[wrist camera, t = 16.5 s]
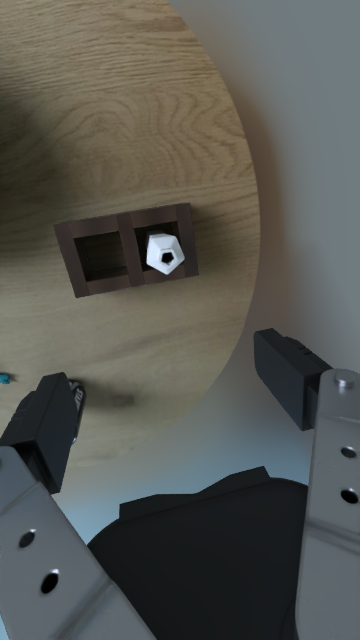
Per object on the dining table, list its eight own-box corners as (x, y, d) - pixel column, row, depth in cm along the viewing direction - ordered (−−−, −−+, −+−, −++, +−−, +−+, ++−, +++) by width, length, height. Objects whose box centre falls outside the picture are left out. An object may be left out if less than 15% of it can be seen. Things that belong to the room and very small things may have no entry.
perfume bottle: (176, 235, 45) (196, 249, 31) (162, 259, 46) (176, 284, 32) (150, 220, 43) (160, 228, 29) (137, 245, 44) (140, 264, 31)
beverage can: (82, 409, 54) (70, 461, 43) (45, 403, 52) (22, 456, 41) (91, 380, 52) (80, 427, 41) (52, 373, 50) (30, 420, 39)
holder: (182, 202, 43) (189, 202, 37) (190, 266, 47) (198, 275, 41) (63, 222, 41) (52, 225, 36) (82, 286, 45) (75, 298, 40)
